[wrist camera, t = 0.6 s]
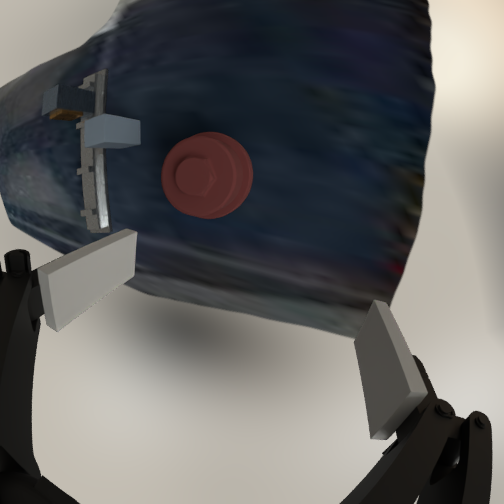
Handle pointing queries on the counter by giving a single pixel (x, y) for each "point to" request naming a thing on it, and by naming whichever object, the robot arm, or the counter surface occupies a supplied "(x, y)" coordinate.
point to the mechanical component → (207, 175)
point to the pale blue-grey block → (111, 132)
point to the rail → (92, 159)
